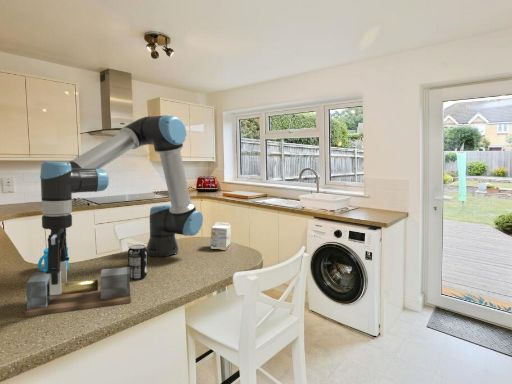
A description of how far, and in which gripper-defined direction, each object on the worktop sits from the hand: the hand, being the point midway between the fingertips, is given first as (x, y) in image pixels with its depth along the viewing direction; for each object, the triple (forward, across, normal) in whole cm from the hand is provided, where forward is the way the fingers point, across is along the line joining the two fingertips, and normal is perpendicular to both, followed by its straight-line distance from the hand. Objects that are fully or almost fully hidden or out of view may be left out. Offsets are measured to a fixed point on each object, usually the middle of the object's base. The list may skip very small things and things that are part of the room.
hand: (58, 287), depth 95 cm
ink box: (+5, -47, +65) cm, 80 cm away
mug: (+5, -34, -8) cm, 35 cm away
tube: (+2, 0, +2) cm, 3 cm away
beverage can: (+5, -16, +23) cm, 28 cm away
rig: (+5, 0, +8) cm, 9 cm away
